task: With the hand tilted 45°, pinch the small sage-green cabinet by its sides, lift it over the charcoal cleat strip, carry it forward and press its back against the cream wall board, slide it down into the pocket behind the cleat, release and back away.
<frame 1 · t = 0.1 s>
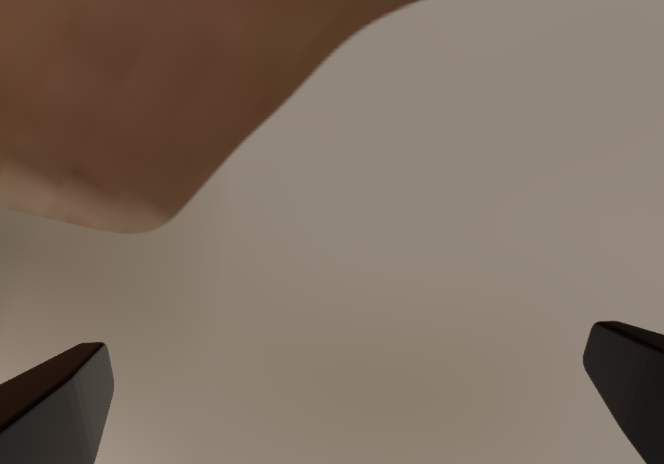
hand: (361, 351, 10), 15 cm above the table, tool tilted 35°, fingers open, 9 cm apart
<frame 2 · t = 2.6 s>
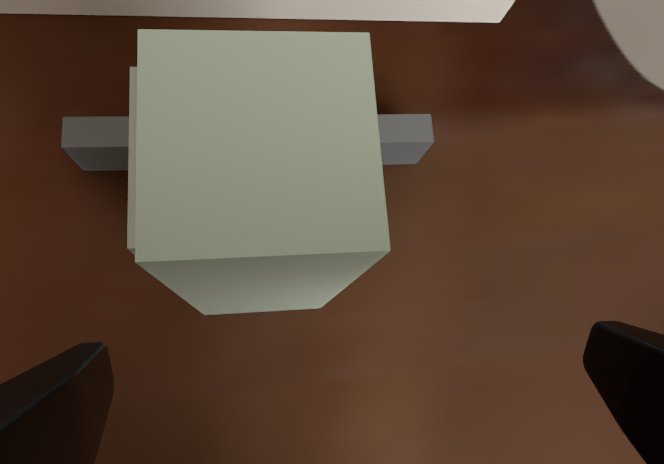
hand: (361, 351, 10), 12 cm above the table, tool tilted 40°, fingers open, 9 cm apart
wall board: (253, 77, 23), on the table
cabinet: (260, 255, 22), on the table
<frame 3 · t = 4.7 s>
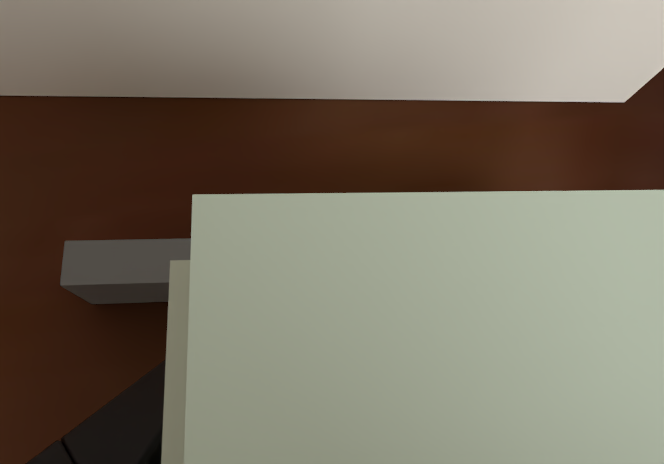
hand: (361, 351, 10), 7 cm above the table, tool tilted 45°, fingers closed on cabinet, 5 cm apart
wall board: (317, 175, 18), on the table
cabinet: (329, 424, 15), on the table, touching gripper
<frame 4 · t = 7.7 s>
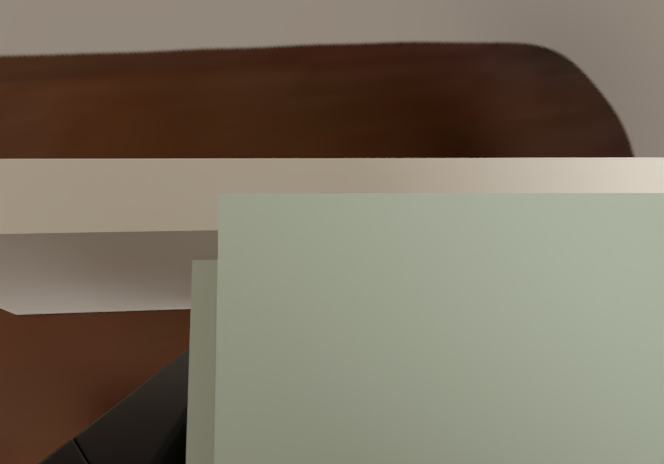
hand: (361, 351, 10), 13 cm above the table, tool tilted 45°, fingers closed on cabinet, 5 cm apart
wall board: (312, 376, 22), on the table
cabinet: (330, 426, 15), point 6 cm above the table, touching gripper
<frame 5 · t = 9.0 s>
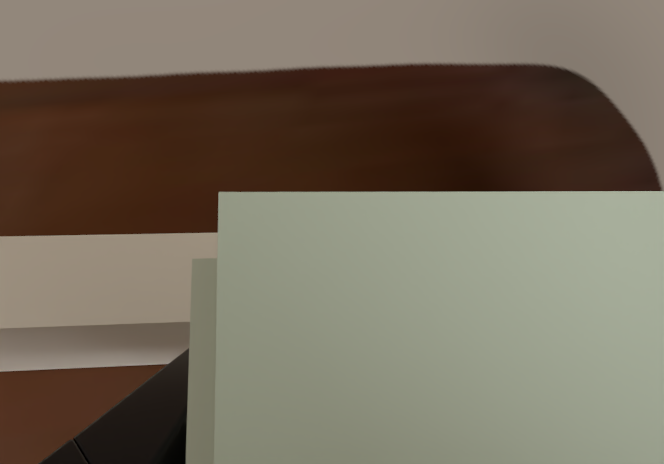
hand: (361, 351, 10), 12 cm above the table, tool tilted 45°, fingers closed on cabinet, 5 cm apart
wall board: (316, 437, 20), on the table
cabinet: (330, 425, 15), point 5 cm above the table, touching gripper
when the fingers open (7 cm above the table, at t = 10.3 s): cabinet stays where it is, on the table.
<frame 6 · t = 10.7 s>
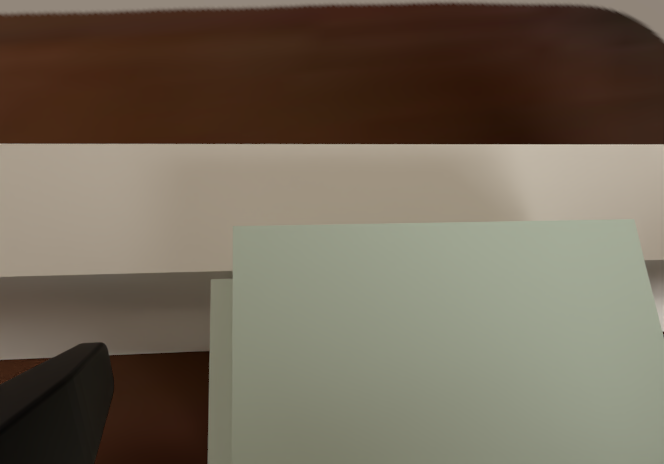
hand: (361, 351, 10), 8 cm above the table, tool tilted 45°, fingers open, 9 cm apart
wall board: (327, 445, 16), on the table
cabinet: (335, 421, 16), on the table
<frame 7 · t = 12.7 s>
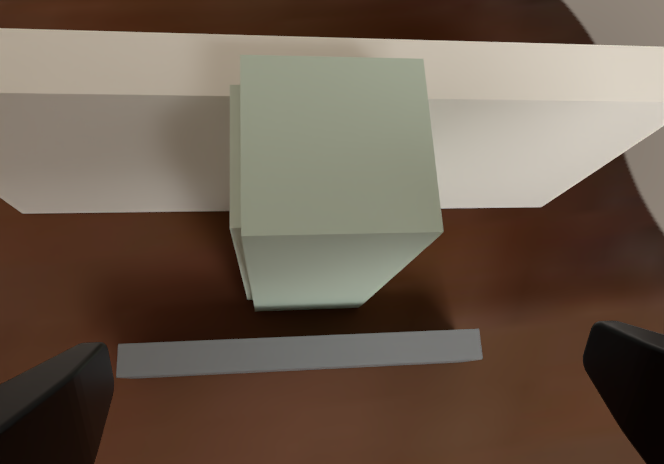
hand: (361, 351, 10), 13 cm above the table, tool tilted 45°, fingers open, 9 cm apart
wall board: (299, 273, 24), on the table
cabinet: (305, 258, 24), on the table
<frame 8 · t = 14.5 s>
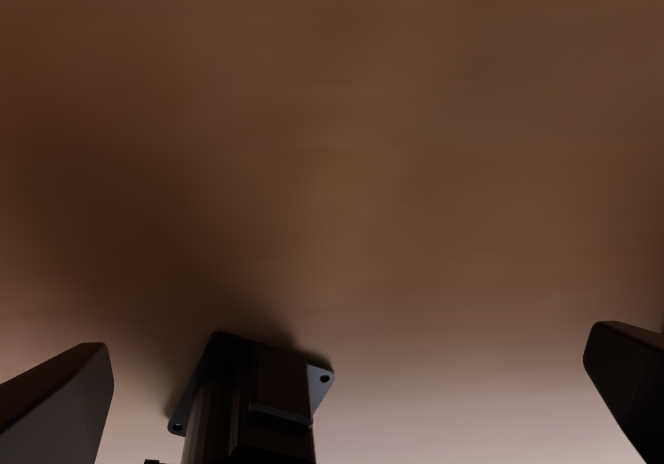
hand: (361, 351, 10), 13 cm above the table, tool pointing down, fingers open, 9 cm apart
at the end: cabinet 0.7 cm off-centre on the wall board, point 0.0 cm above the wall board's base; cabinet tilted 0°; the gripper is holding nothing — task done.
